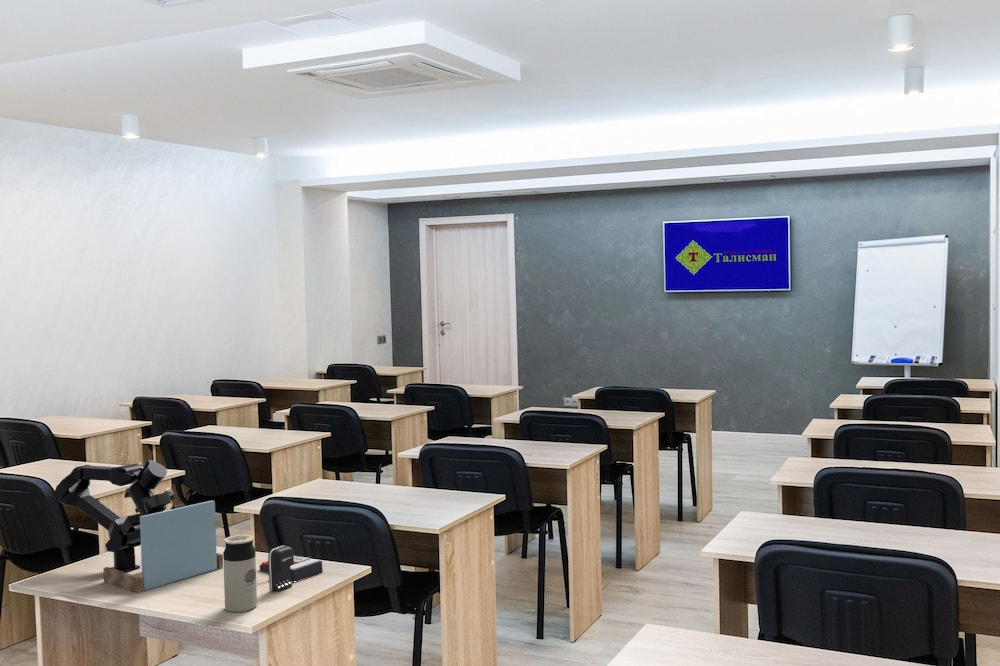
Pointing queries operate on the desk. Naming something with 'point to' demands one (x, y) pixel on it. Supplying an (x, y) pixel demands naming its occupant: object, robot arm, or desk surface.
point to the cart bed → (139, 577)
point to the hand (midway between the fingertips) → (168, 542)
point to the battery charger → (280, 568)
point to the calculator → (300, 568)
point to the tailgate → (178, 544)
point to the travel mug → (240, 573)
